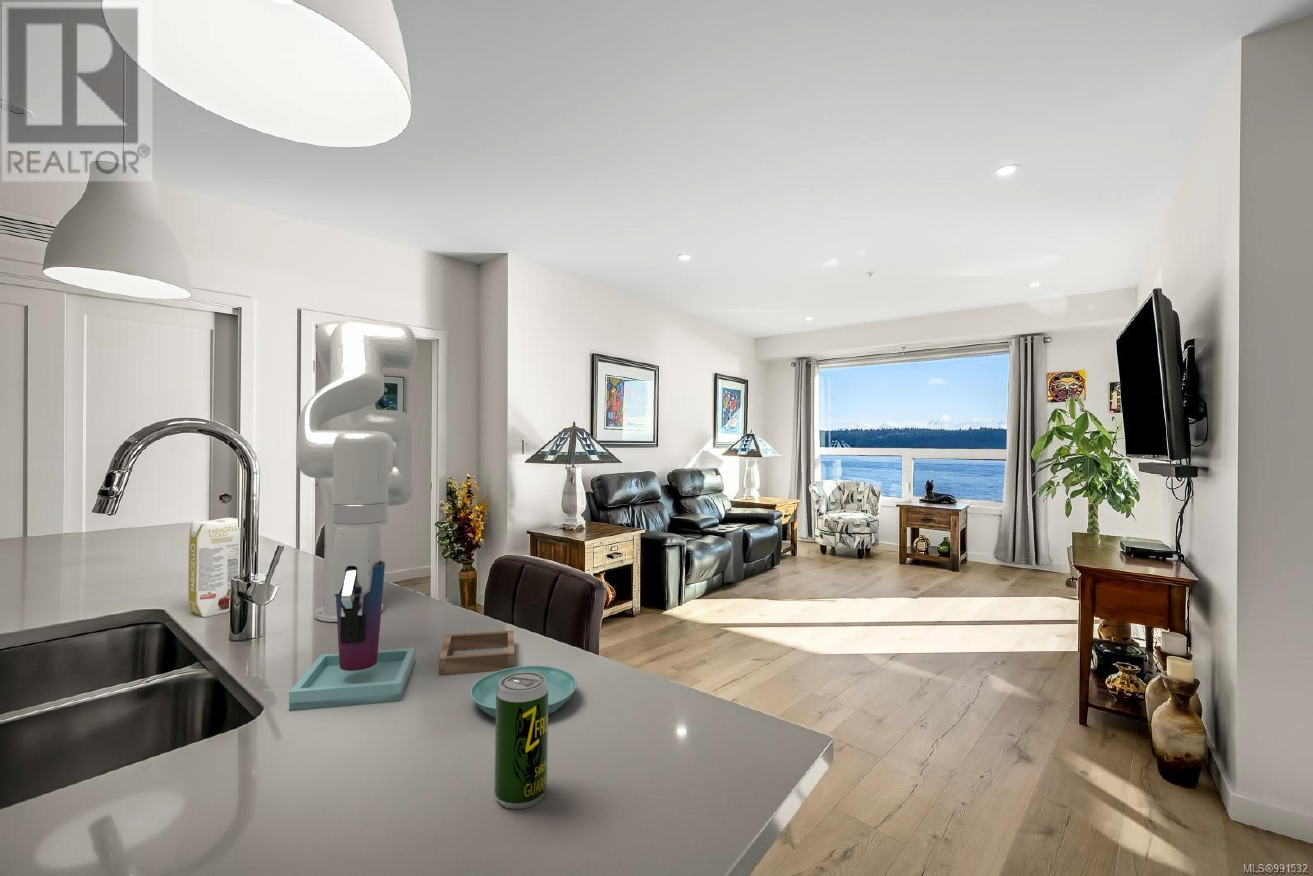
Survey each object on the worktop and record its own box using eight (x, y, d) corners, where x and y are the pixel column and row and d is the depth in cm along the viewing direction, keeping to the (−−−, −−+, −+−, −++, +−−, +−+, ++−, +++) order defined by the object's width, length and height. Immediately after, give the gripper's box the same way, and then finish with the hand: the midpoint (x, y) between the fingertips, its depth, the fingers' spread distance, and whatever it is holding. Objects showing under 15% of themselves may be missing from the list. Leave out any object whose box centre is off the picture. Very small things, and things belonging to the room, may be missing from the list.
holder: (445, 649, 104) (446, 634, 104) (513, 644, 107) (513, 630, 107) (438, 675, 93) (438, 659, 93) (514, 669, 95) (514, 653, 95)
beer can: (483, 803, 61) (485, 686, 61) (514, 775, 66) (516, 668, 66) (528, 816, 59) (529, 696, 59) (556, 787, 64) (558, 676, 64)
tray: (320, 670, 94) (320, 654, 94) (415, 663, 97) (415, 648, 97) (289, 710, 80) (289, 692, 80) (400, 700, 84) (400, 683, 84)
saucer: (521, 674, 94) (522, 658, 94) (597, 696, 86) (597, 678, 86) (446, 711, 81) (446, 692, 81) (527, 741, 74) (527, 719, 74)
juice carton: (248, 609, 125) (249, 519, 125) (200, 619, 117) (201, 524, 117) (230, 603, 129) (231, 516, 129) (183, 613, 121) (184, 520, 121)
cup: (369, 674, 85) (371, 570, 85) (322, 673, 85) (324, 569, 85) (391, 656, 92) (393, 560, 92) (348, 655, 92) (349, 559, 92)
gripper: (347, 508, 96) (346, 619, 96) (314, 523, 79) (312, 658, 79) (397, 507, 98) (396, 616, 98) (375, 522, 81) (373, 653, 81)
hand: (358, 633), depth 89 cm, fingers closed on cup, 6 cm apart
